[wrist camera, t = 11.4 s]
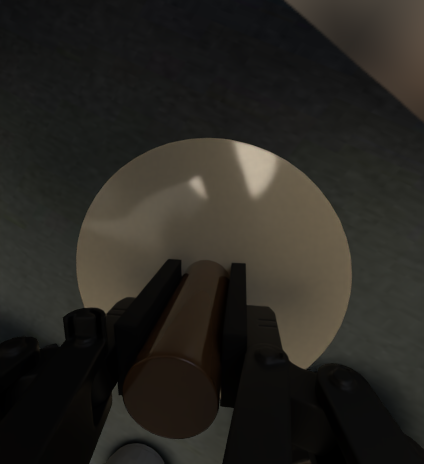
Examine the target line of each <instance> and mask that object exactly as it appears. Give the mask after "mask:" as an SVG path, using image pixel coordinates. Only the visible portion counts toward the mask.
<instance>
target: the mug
mask: <svg viewBox="0 0 424 464" xmlns="http://www.w3.org/2000/svg"><path fill="white" fill-rule="evenodd" d="M105 464H164V461H163V460H162V458H161V457H160V455H159V454H158V453H157V452H156V451H155V450H154V449H152V448H150V447H148V446H146V445H144V444H138V443H134V444H127V445H125V446H123V447H121V448H119V449H118V450H117V451H116V452H115V453H114V454H113V455H111V457H110V458H109V459H108V460H107V462H106V463H105Z"/></svg>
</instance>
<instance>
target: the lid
mask: <svg viewBox="0 0 424 464" xmlns="http://www.w3.org/2000/svg"><path fill="white" fill-rule="evenodd" d="M168 259H178V260H181V271H182V277H181V279H180V281H179V282H178V284H177V286H176V288H175V289H174V291H173V293H172V295H171V296H170V298H169V300H168V302H167V304H166V305H165V307H164V309H163V311H162V312H161V314H160V316H159V318H158V319H157V321H156V323H155V325H154V327H153V328H152V330H151V332H150V334H149V335H148V337H147V339H146V341H145V342H144V344H143V346H142V348H141V349H140V351H139V353H138V355H137V357H136V358H135V360H134V362H133V364H132V365H131V367H130V369H129V371H128V372H127V374H126V376H125V379H124V382H123V387H122V396H123V401H124V404H125V407H126V409H127V411H128V413H129V414H130V416H131V417H132V418H133V419H134V420H135V421H136V422H137V423H138V424H139V425H140V426H141V427H142V428H144V429H145V430H147V431H149V432H151V433H153V434H155V435H158V436H161V437H165V438H170V439H184V438H189V437H193V436H196V435H198V434H200V433H202V432H203V431H205V430H206V429H207V428H208V427H209V426H210V425H211V424H212V422H213V421H214V419H215V418H216V415H217V413H218V409H219V400H220V399H221V381H222V341H223V328H224V320H225V312H226V304H227V296H228V289H229V281H230V273H231V265H232V263H246V295H247V305H255V306H269V307H270V308H271V309H272V310H273V311H274V313H275V315H276V320H277V325H278V329H279V334H280V339H281V343H282V348H283V350H284V351H285V353H286V354H287V355H288V358H289V361H291V362H292V363H293V364H295V365H296V366H298V367H300V368H303V369H307V368H308V367H309V366H311V365H312V364H313V363H314V362H315V361H316V360H317V359H318V358H319V357H320V356H321V355H322V354H323V352H324V351H325V350H326V348H327V347H328V346H329V344H330V343H331V342H332V340H333V338H334V337H335V335H336V333H337V331H338V329H339V328H340V326H341V323H342V321H343V318H344V316H345V313H346V310H347V306H348V302H349V298H350V293H351V282H352V267H351V255H350V251H349V246H348V242H347V238H346V235H345V232H344V230H343V227H342V224H341V222H340V219H339V218H338V216H337V214H336V212H335V211H334V209H333V207H332V205H331V203H330V202H329V201H328V199H327V198H326V197H325V196H324V194H323V193H322V192H321V190H320V189H319V188H318V187H317V186H316V185H315V184H314V183H313V182H312V181H311V180H310V179H309V178H308V177H307V176H306V175H305V174H304V173H303V172H302V171H300V170H299V169H297V168H296V167H295V166H293V165H292V164H291V163H289V162H288V161H286V160H285V159H283V158H281V157H279V156H277V155H275V154H273V153H272V152H270V151H267V150H265V149H262V148H259V147H257V146H254V145H251V144H248V143H243V142H239V141H234V140H230V139H218V138H198V139H187V140H182V141H177V142H172V143H168V144H165V145H162V146H160V147H157V148H154V149H151V150H149V151H147V152H146V153H144V154H142V155H140V156H138V157H136V158H134V159H133V160H131V161H130V162H129V163H127V164H126V165H125V166H123V167H122V168H120V169H119V170H118V171H117V172H116V173H115V174H114V175H113V176H112V177H111V178H110V179H109V180H108V181H107V182H106V183H105V185H104V186H103V187H102V188H101V190H100V191H99V192H98V194H97V195H96V197H95V198H94V200H93V202H92V204H91V205H90V207H89V209H88V211H87V213H86V216H85V219H84V221H83V224H82V226H81V231H80V235H79V239H78V244H77V255H76V269H77V279H78V286H79V291H80V294H81V298H82V301H83V304H84V307H85V308H90V307H93V308H100V309H102V310H104V312H105V313H107V312H108V311H109V310H110V309H111V308H112V307H113V306H114V305H115V304H116V303H117V302H118V301H120V300H122V299H124V298H125V297H135V298H136V297H137V296H138V295H139V293H140V292H141V291H142V290H143V289H144V287H145V286H146V285H147V284H148V283H149V281H150V280H151V279H152V278H153V277H154V275H155V274H156V273H157V272H158V270H159V269H160V268H161V267H162V266H163V264H164V263H165V262H166V261H167V260H168Z"/></svg>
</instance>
